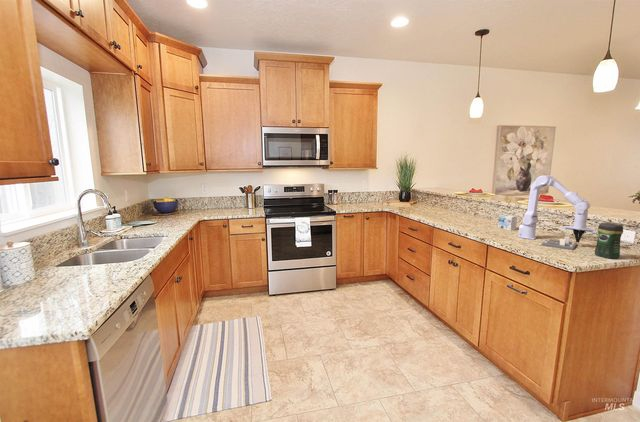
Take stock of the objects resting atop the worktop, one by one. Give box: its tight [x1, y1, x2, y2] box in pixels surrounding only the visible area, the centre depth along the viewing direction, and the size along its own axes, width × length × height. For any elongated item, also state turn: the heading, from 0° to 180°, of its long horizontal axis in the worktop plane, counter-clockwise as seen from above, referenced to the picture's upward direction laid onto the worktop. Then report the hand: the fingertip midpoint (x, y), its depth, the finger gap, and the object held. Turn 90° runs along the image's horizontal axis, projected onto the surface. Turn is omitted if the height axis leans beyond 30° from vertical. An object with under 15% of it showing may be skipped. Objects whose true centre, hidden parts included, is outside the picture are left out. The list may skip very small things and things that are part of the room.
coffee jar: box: [594, 222, 624, 260], centre depth 160 cm, size 10×8×19 cm
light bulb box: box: [497, 214, 518, 231], centre depth 232 cm, size 11×7×11 cm, turn 25°
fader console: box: [541, 238, 578, 251], centre depth 185 cm, size 15×18×2 cm
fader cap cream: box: [559, 238, 566, 246], centre depth 180 cm, size 2×3×4 cm
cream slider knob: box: [563, 236, 571, 244], centre depth 185 cm, size 2×3×4 cm
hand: (577, 242), depth 181 cm, fingers closed
